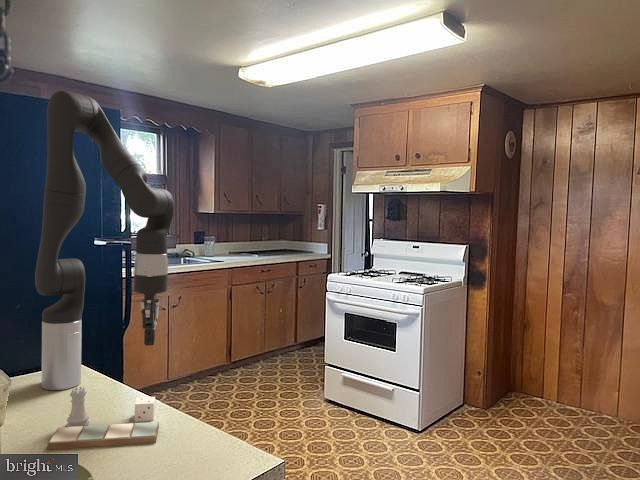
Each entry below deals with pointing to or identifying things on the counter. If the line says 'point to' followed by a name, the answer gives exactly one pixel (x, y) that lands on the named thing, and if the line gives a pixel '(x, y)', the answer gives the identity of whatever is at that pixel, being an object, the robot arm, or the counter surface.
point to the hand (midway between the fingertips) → (149, 343)
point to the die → (145, 408)
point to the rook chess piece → (78, 409)
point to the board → (104, 435)
